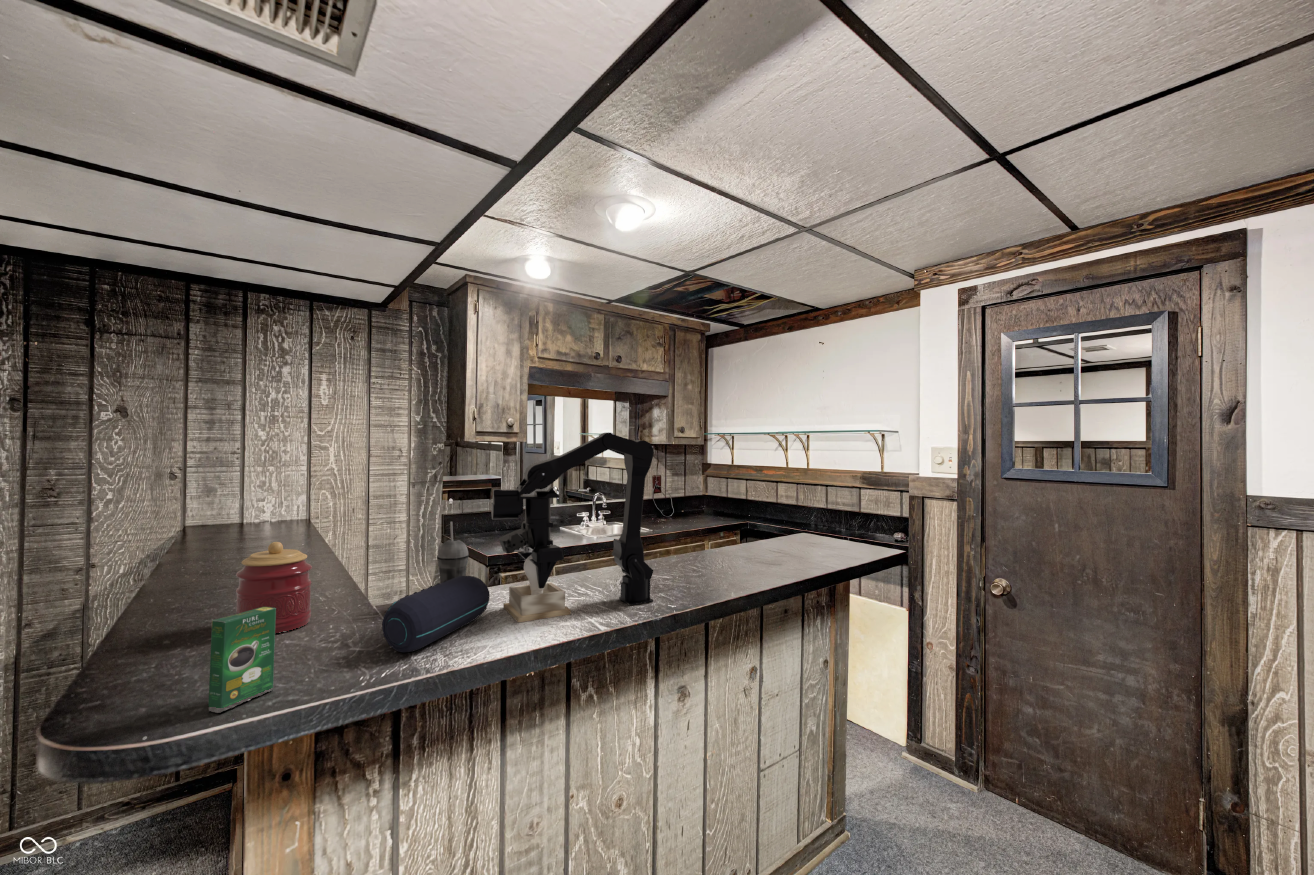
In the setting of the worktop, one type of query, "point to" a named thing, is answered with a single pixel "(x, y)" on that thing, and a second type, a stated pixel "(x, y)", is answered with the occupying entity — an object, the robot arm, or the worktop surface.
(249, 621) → the coffee box
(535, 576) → the lightbulb
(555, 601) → the box
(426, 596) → the portable speaker
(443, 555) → the beverage cup
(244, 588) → the canister
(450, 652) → the worktop surface
